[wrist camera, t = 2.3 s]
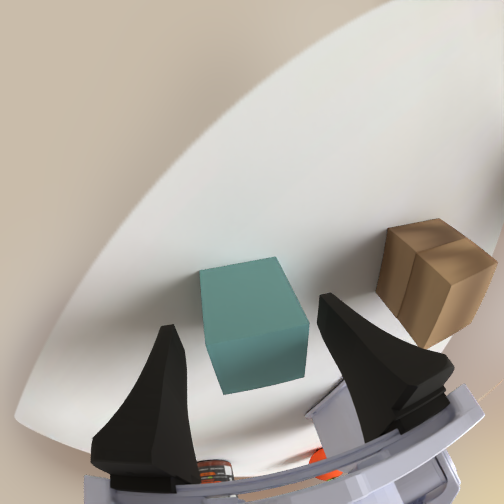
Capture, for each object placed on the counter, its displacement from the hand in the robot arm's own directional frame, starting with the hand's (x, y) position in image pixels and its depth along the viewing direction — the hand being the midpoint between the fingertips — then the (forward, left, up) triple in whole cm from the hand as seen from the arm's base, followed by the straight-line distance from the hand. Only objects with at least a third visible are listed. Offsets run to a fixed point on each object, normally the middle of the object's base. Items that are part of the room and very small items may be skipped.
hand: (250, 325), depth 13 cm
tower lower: (+6, -10, -3) cm, 12 cm away
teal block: (0, 0, -3) cm, 3 cm away
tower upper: (+6, -10, 0) cm, 12 cm away
